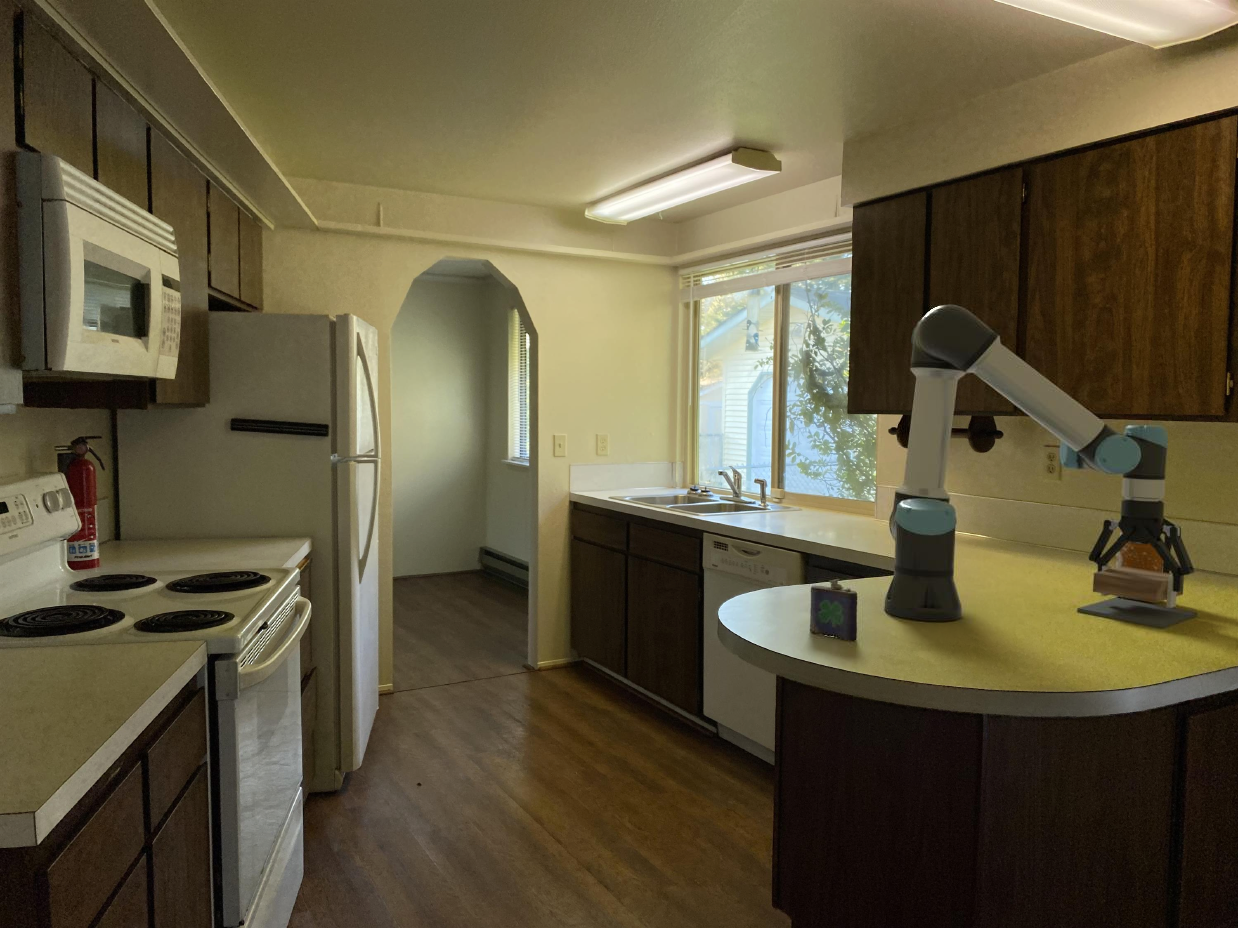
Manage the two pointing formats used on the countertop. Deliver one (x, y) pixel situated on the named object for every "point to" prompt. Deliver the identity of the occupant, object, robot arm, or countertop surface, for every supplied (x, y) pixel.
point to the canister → (1143, 556)
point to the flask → (834, 611)
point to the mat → (1138, 612)
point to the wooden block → (1133, 584)
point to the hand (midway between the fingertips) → (1137, 600)
